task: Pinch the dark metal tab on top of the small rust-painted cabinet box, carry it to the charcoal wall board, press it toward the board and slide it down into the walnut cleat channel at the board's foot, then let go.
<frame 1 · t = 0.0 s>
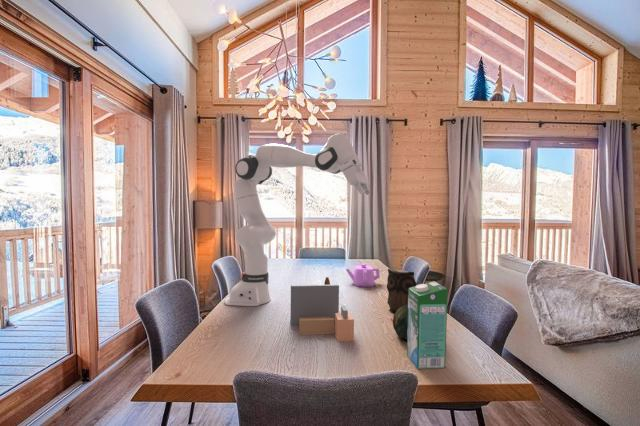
hand: (365, 194, 138), 54 cm above the table, tool tilted 30°, fingers open, 8 cm apart
squash: (413, 338, 120), on the table
hand bell: (327, 311, 148), on the table
milk carton: (425, 361, 103), on the table
teakettle: (362, 283, 198), on the table
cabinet: (344, 337, 120), on the table
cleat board: (314, 323, 133), on the table
owl: (404, 312, 148), on the table
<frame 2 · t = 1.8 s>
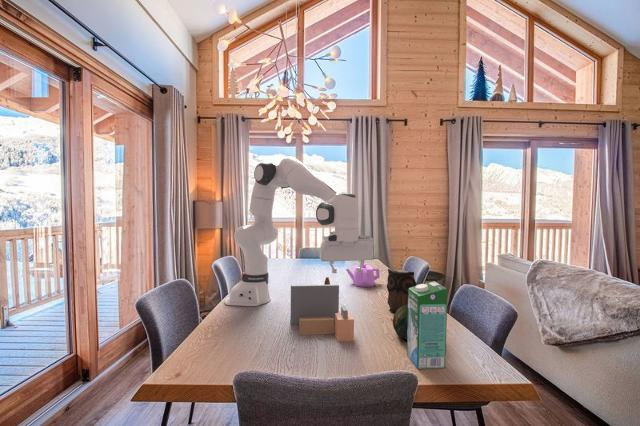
hand: (346, 272, 120), 24 cm above the table, tool pointing down, fingers open, 8 cm apart
nothing on the table moved.
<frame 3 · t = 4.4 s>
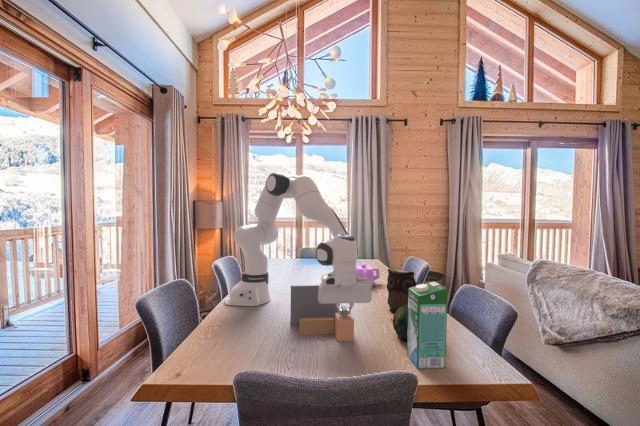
hand: (344, 314, 120), 9 cm above the table, tool pointing down, fingers closed on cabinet
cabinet: (344, 336, 120), on the table, touching gripper
everything else where it was.
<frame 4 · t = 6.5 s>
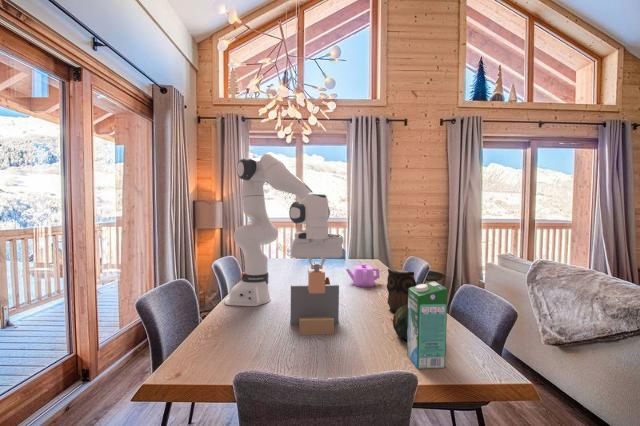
hand: (316, 268, 126), 24 cm above the table, tool pointing down, fingers closed on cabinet
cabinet: (316, 290, 126), point 16 cm above the table, touching gripper
everything else where it was.
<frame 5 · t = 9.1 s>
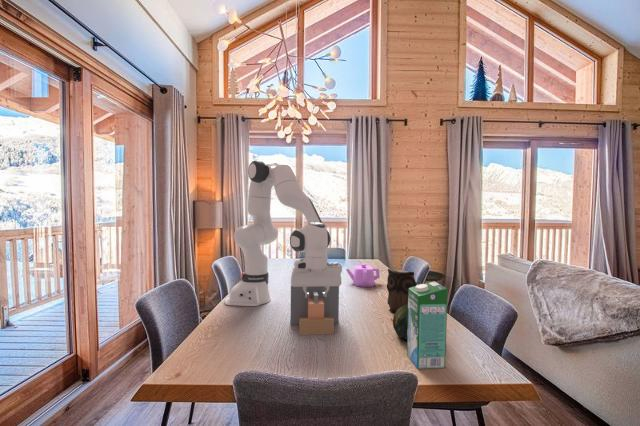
hand: (315, 297, 128), 13 cm above the table, tool pointing down, fingers open, 5 cm apart
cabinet: (315, 320, 128), point 3 cm above the table, touching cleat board
everything else where it was.
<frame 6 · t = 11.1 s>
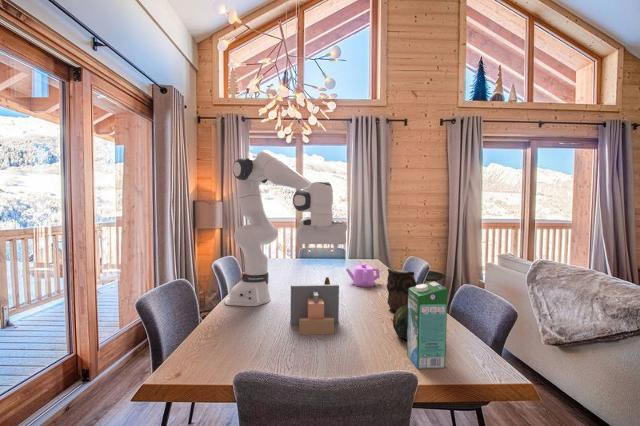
hand: (320, 255, 129), 29 cm above the table, tool pointing down, fingers open, 8 cm apart
nothing on the table moved.
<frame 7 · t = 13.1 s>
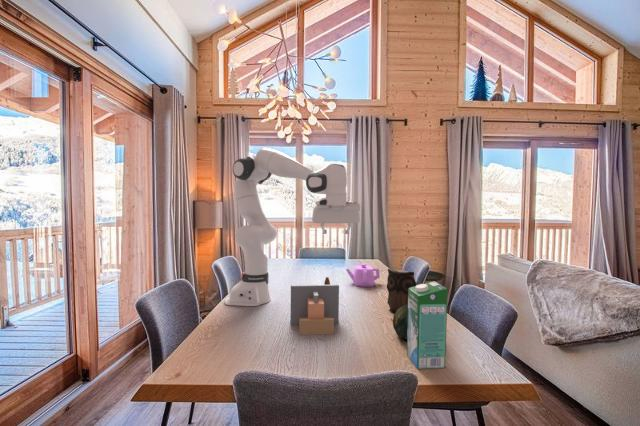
hand: (335, 233, 136), 37 cm above the table, tool pointing down, fingers open, 8 cm apart
nothing on the table moved.
at the end: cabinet inside the target area on the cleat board (0.1 cm from its centre), point 3.0 cm above the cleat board's base; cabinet tilted 0°; the gripper is holding nothing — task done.
